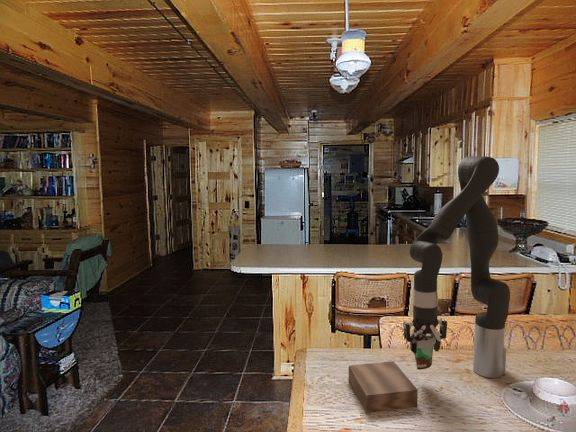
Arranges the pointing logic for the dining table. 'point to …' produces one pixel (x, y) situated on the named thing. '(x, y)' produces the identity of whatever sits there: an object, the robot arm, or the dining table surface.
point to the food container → (424, 351)
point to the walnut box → (382, 387)
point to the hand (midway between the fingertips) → (425, 351)
